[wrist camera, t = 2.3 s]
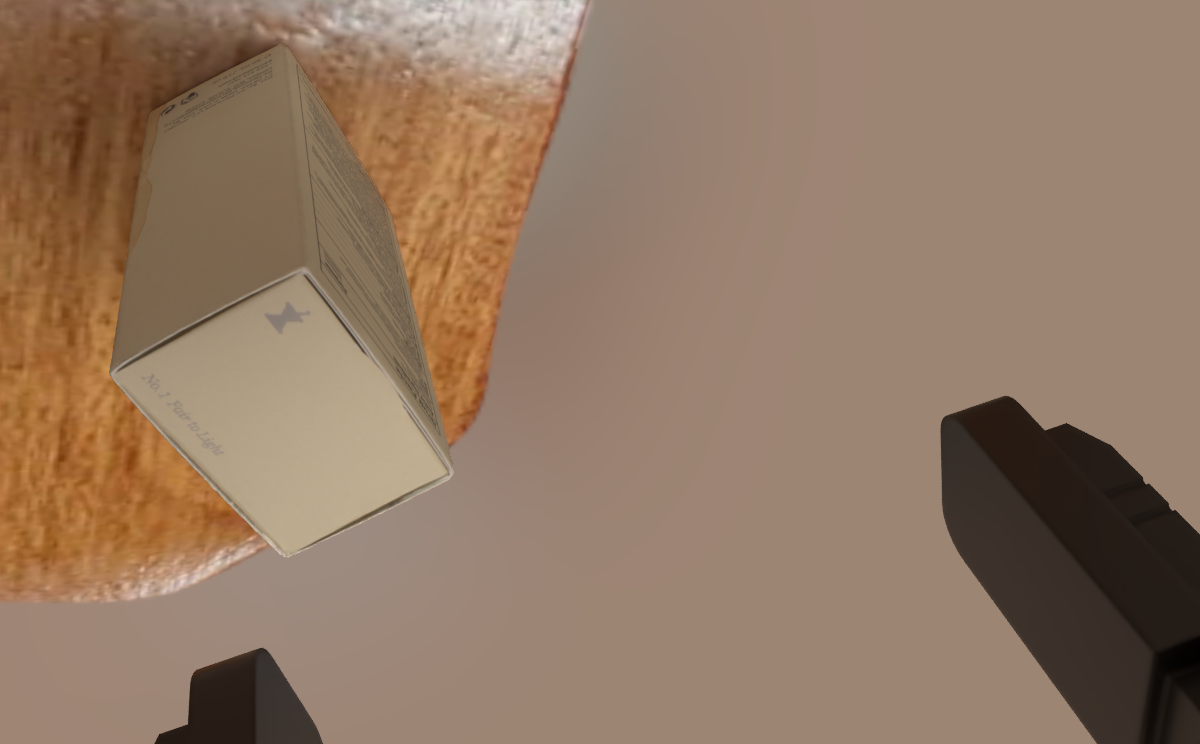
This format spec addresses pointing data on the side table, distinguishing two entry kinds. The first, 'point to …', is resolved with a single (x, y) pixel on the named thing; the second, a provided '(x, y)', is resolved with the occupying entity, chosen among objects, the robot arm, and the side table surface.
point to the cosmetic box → (275, 311)
